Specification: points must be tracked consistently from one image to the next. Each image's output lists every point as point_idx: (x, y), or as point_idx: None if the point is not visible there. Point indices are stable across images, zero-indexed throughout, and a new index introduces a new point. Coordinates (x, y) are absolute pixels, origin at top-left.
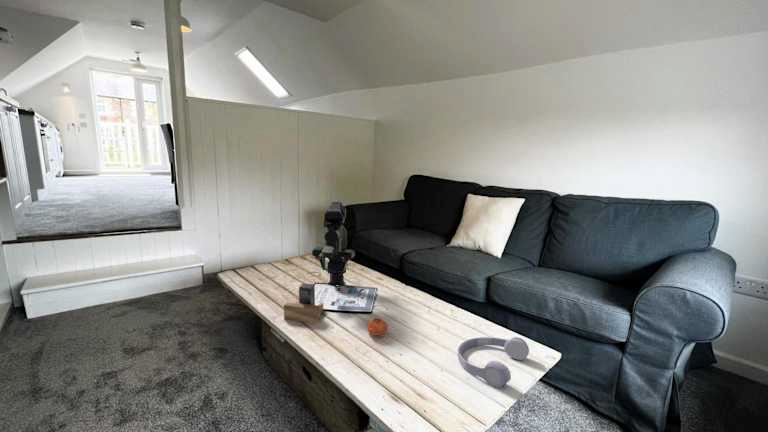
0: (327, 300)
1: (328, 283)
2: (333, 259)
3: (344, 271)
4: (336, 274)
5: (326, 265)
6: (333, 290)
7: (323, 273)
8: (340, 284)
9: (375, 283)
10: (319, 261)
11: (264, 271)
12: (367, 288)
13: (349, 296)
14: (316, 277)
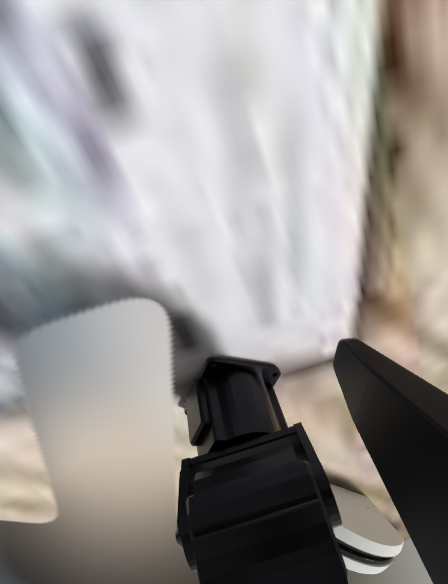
0: (184, 125)
1: (275, 370)
2: (296, 574)
3: (181, 476)
4: (235, 433)
5: (339, 500)
6: (212, 307)
7: (335, 449)
8: (195, 380)
9: (8, 462)
10: (379, 513)
11: None
12: (8, 401)
13: (46, 257)
14: None
